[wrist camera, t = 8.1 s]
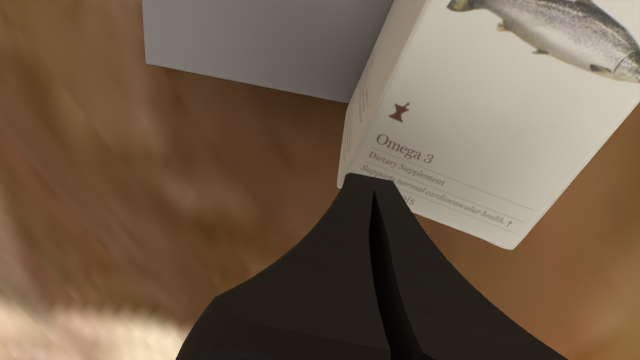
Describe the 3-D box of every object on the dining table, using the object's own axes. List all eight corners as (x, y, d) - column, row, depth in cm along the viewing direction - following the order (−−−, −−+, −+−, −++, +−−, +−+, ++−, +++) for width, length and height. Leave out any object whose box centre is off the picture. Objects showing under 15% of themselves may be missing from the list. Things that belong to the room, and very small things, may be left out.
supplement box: (330, 191, 15) (557, -305, 8) (343, 112, 21) (478, -204, 14) (516, 260, 15) (867, -148, 9) (475, 163, 22) (661, -117, 15)
